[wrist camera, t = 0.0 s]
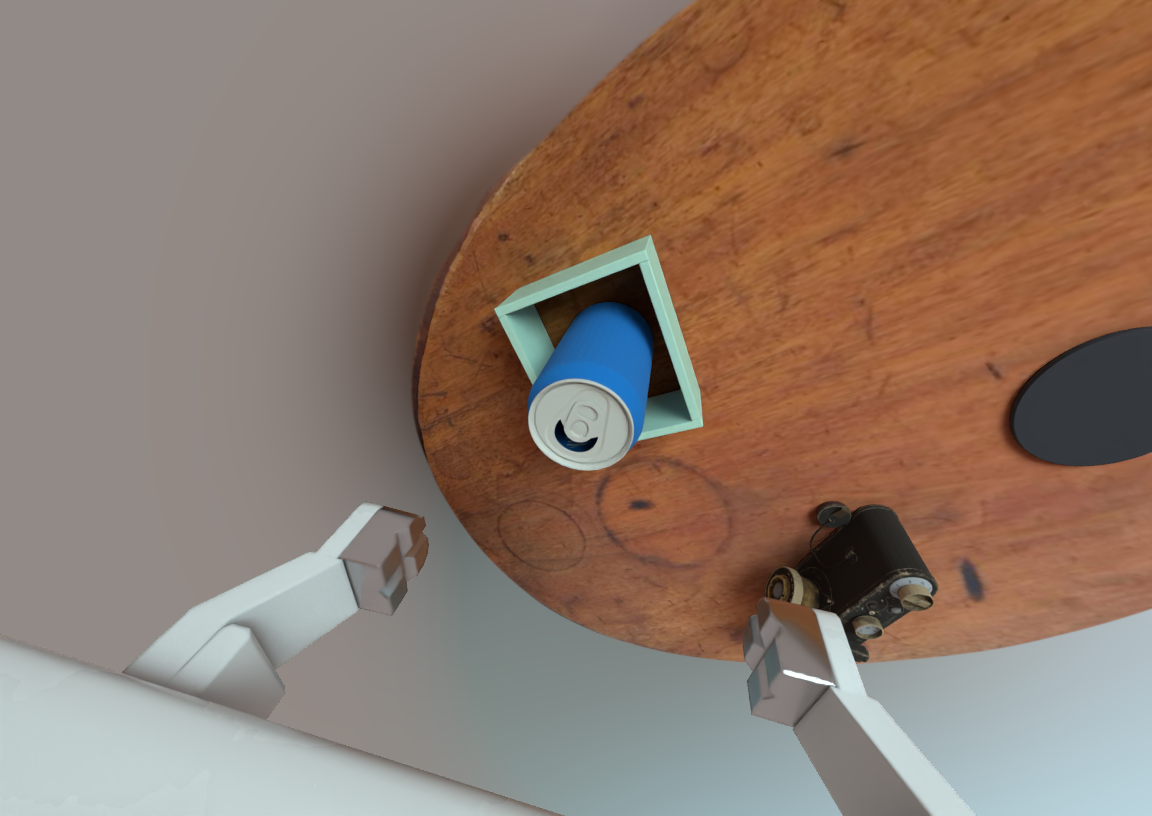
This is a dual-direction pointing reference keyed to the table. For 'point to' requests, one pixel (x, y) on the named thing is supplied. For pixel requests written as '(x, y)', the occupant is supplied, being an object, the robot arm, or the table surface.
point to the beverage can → (593, 389)
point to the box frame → (679, 405)
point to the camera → (859, 573)
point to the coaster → (1090, 403)
